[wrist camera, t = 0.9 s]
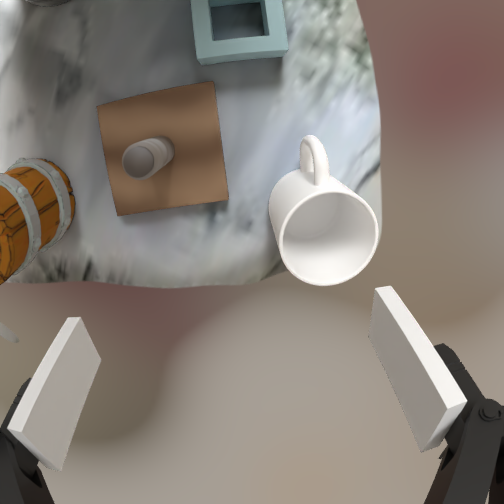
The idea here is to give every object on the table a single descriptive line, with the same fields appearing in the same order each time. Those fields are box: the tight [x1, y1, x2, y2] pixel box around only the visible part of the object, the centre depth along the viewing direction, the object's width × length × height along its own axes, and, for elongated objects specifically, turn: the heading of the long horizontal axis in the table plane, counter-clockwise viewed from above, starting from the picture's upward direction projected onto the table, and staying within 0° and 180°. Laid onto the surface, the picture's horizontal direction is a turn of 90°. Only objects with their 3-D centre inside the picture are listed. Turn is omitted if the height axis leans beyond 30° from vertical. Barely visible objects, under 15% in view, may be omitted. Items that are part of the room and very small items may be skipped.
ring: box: [190, 0, 289, 65], centre depth 24 cm, size 8×8×4 cm
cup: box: [268, 135, 378, 286], centre depth 29 cm, size 8×12×10 cm
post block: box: [97, 81, 229, 216], centre depth 27 cm, size 12×12×9 cm
